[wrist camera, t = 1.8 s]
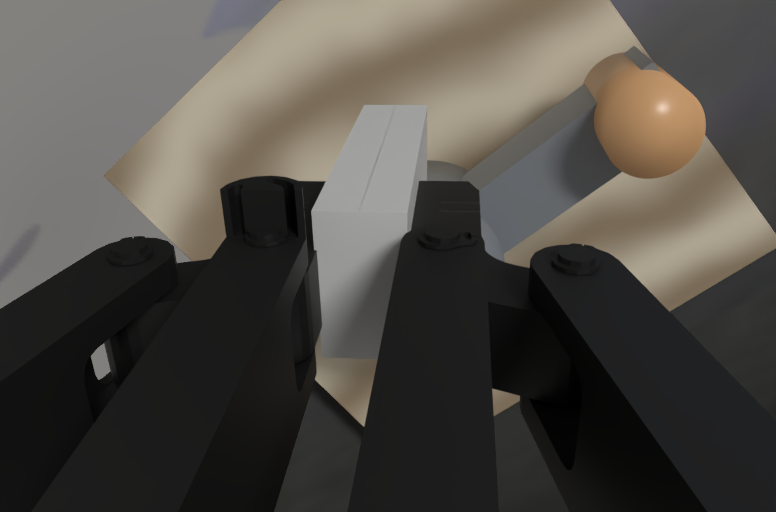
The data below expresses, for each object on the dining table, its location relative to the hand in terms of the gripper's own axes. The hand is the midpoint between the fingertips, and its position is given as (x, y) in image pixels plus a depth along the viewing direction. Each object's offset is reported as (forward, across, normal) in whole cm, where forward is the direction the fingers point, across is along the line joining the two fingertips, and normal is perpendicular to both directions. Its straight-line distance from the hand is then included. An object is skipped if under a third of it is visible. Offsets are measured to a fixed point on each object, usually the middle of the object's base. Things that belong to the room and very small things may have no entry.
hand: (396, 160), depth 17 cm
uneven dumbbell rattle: (+17, +4, -6) cm, 18 cm away
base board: (+21, 0, -9) cm, 23 cm away
